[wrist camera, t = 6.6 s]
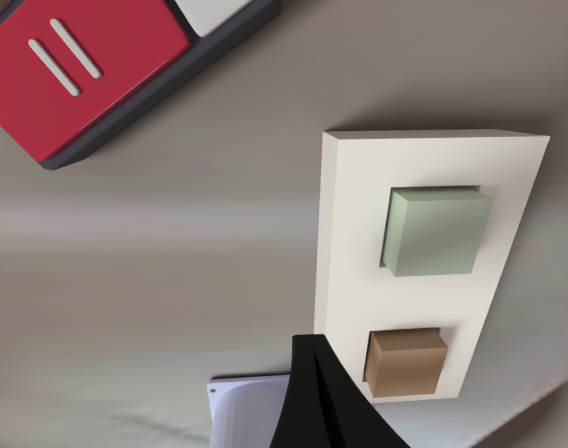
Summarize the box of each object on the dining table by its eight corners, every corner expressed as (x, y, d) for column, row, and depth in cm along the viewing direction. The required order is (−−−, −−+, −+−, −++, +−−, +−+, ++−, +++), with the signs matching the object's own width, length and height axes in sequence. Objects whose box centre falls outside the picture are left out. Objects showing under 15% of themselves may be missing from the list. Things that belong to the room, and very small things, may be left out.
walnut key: (410, 353, 23) (434, 393, 20) (357, 356, 23) (373, 398, 20) (420, 310, 21) (448, 347, 18) (363, 313, 21) (381, 351, 18)
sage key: (436, 244, 19) (471, 273, 16) (372, 246, 19) (394, 277, 16) (451, 180, 17) (494, 198, 14) (381, 182, 17) (408, 201, 14)
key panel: (430, 356, 26) (457, 397, 22) (312, 363, 26) (320, 407, 22) (492, 129, 18) (550, 136, 14) (322, 131, 18) (338, 139, 14)
